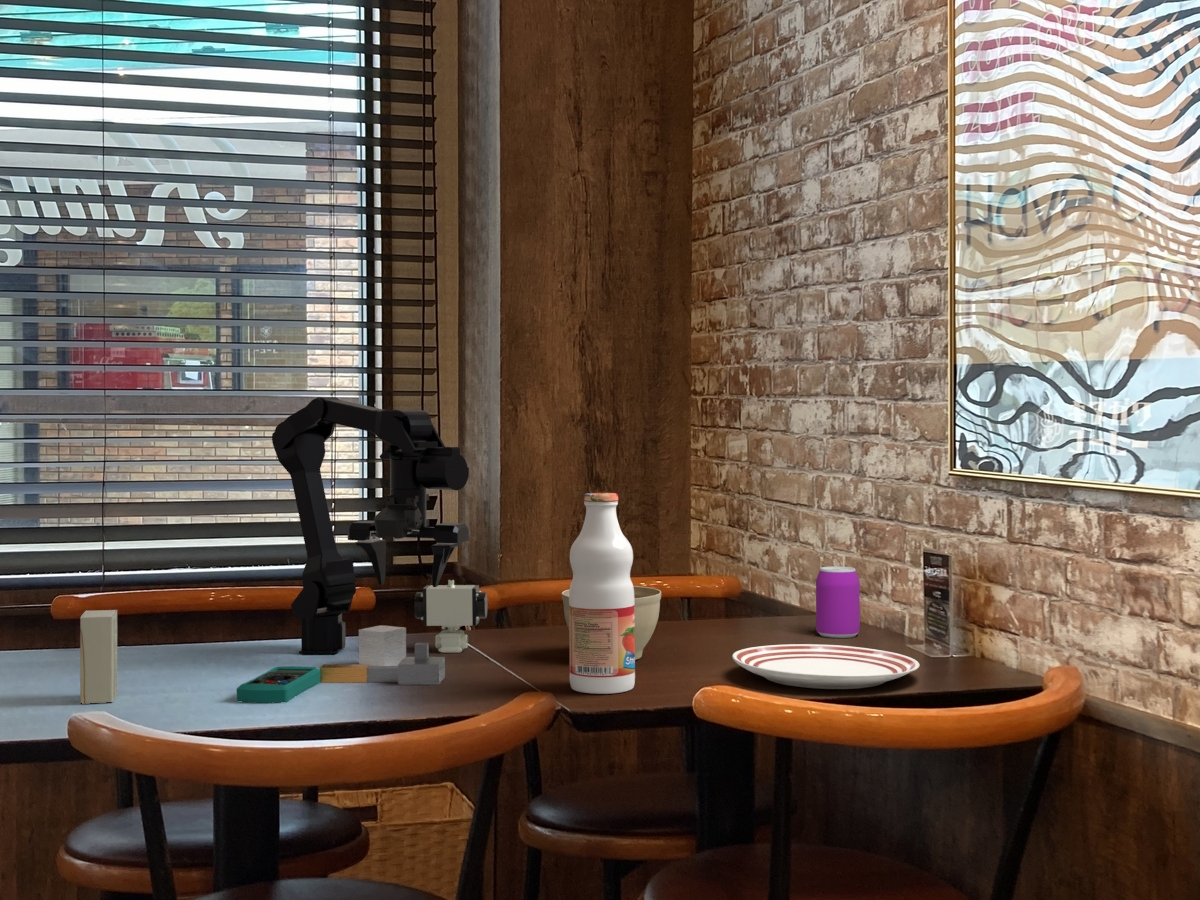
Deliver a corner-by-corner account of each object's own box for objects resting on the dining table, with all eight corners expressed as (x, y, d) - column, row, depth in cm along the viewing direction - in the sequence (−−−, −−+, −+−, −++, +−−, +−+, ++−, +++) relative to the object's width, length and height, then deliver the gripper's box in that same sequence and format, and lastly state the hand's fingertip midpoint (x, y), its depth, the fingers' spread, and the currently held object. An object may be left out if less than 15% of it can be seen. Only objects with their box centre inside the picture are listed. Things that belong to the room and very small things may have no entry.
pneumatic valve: (485, 653, 214) (484, 581, 214) (414, 654, 214) (414, 582, 214) (488, 648, 219) (488, 577, 219) (420, 648, 220) (419, 578, 219)
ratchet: (316, 684, 189) (316, 647, 189) (326, 676, 195) (326, 640, 195) (439, 684, 189) (438, 647, 188) (445, 676, 195) (444, 640, 194)
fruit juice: (562, 684, 188) (561, 492, 188) (624, 680, 191) (622, 491, 190) (579, 697, 179) (577, 495, 179) (643, 692, 182) (642, 494, 181)
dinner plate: (853, 657, 210) (853, 636, 210) (958, 688, 184) (958, 665, 184) (701, 669, 200) (701, 648, 200) (789, 704, 174) (789, 680, 174)
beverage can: (810, 632, 233) (809, 566, 233) (850, 631, 234) (850, 565, 234) (825, 639, 225) (824, 571, 225) (866, 638, 227) (866, 570, 227)
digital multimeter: (233, 705, 177) (233, 684, 177) (274, 684, 192) (274, 664, 192) (285, 707, 176) (284, 685, 176) (322, 685, 191) (321, 665, 191)
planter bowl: (547, 654, 213) (547, 588, 213) (636, 647, 220) (635, 583, 219) (584, 670, 198) (584, 600, 198) (678, 662, 205) (678, 594, 205)
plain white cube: (359, 667, 202) (358, 629, 202) (381, 662, 206) (380, 625, 206) (384, 670, 199) (384, 632, 199) (406, 665, 204) (405, 627, 204)
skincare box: (85, 696, 182) (84, 610, 182) (119, 694, 183) (117, 608, 183) (79, 705, 176) (78, 616, 176) (114, 703, 177) (113, 615, 177)
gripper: (331, 490, 200) (331, 590, 201) (444, 492, 195) (444, 594, 196) (362, 486, 211) (362, 581, 211) (470, 488, 206) (469, 585, 207)
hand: (408, 585), depth 206 cm, fingers open, 9 cm apart
